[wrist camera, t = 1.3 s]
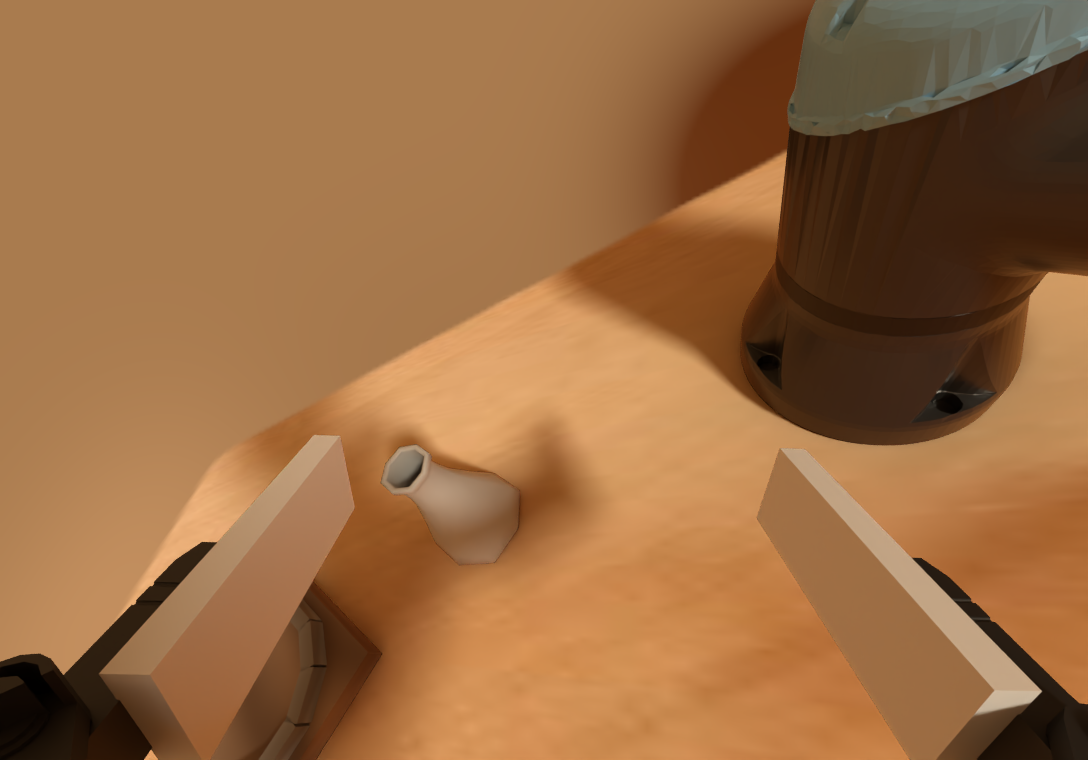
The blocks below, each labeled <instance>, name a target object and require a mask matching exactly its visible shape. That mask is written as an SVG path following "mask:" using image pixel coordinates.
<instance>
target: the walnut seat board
mask: <svg viewBox="0 0 1088 760" xmlns="http://www.w3.org/2000/svg"><path fill="white" fill-rule="evenodd" d="M381 654H382V653H381V652H380V651H379V650H378V649H377V648H376V647H375V646H374V645H373V644H372V643H371V642H370V641H369V640H368V639H367V638H366V637H365V635H364V634H363V633H362V632H361V631H360V630H359V629H358V628H357V627H356V626H355V625H354V624H353V623H352V622H351V621H350V620H349V619H348V618H347V617H346V616H345V615H344V614H343V612H342V611H341V610H340V609H339V608H338V607H337V606H336V605H335V604H334V603H333V602H332V601H331V600H330V599H329V598H328V597H327V596H326V595H325V594H324V593H323V592H322V591H321V590H320V588H319V587H318V586H317V585H316V584H315V583H314V582H312V583H311V585H310V587H309V588H308V590H307V592H306V594H305V595H304V597H303V599H302V601H301V602H300V604H299V606H298V608H297V609H296V611H295V613H294V615H293V616H292V618H291V620H290V622H289V623H288V625H287V627H286V628H285V630H284V632H283V634H282V635H281V637H280V639H279V641H278V642H277V644H276V646H275V648H274V649H273V651H272V653H271V655H270V656H269V658H268V660H267V662H266V663H265V665H264V667H263V668H262V670H261V672H260V674H259V675H258V677H257V679H256V681H255V682H254V684H253V686H252V688H251V689H250V691H249V693H248V695H247V696H246V698H245V700H244V702H243V703H242V705H241V707H240V708H239V710H238V712H237V714H236V715H235V717H234V719H233V721H232V722H231V724H230V726H229V728H228V729H227V731H226V733H225V735H224V736H223V738H222V740H221V742H220V743H219V745H218V747H217V748H216V750H215V752H214V754H213V755H212V757H211V759H210V760H316V759H317V757H318V755H319V754H320V752H321V751H322V749H323V747H324V746H325V744H326V743H327V741H328V739H329V738H330V736H331V735H332V733H333V731H334V730H335V728H336V727H337V725H338V723H339V722H340V720H341V719H342V717H343V715H344V714H345V712H346V711H347V709H348V707H349V706H350V704H351V703H352V701H353V699H354V698H355V696H356V695H357V693H358V691H359V690H360V688H361V687H362V685H363V683H364V682H365V680H366V679H367V677H368V675H369V674H370V672H371V671H372V669H373V667H374V666H375V664H376V662H377V661H378V659H379V658H380V656H381Z"/></svg>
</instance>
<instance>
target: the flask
mask: <svg viewBox="0 0 1088 760" xmlns="http://www.w3.org/2000/svg"><path fill="white" fill-rule="evenodd" d="M431 460H432V456H431V454H429V453H428V452H427V451H425V450H424V449H423V448H421V447H420V446H419V445H417V444H414V445H408V446H402V447H399V448H398V449H397V450H396V452H395V453H394V454H393V455H392V456H391V457H390V459H389V460H388V461H387V462H386V463H385V467H384V471H383V475H382V479H381V484H382V485H383V486H384V487H385V488H386V489H388V490H389V491H390V492H391V493H392V494H393V495H406V496H407V497H409V498H411V499H412V500H413V501H414V502H415V503H416V505H417V507H418V508H419V510H420V512H421V514H422V516H423V517H424V519H425V521H426V523H427V525H428V528H429V530H430V532H431V534H432V536H433V538H434V540H435V542H436V544H437V545H438V546H440V547H441V548H442V549H443V550H444V551H445V552H446V553H447V554H448V555H449V556H450V557H451V558H452V559H453V560H454V561H455V562H456V563H457V564H458V565H468V564H483V563H495V561H496V560H497V558H498V557H499V555H500V554H501V552H502V551H503V549H504V548H505V547H506V545H507V544H508V542H509V541H510V539H511V538H512V536H513V535H514V533H515V532H516V531H517V529H518V521H519V501H520V490H518V489H517V488H515V487H514V486H512V485H511V484H509V483H508V482H507V481H505V480H504V479H502V478H501V477H499V476H498V475H497V474H495V473H487V472H475V471H466V470H459V469H452V468H447V467H445V466H442V465H440V464H437V463H435V462H432V461H431Z"/></svg>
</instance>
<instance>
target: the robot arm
mask: <svg viewBox="0 0 1088 760" xmlns="http://www.w3.org/2000/svg"><path fill="white" fill-rule="evenodd" d="M788 122H789V125H790V131H789V140H788V148H787V158H786V167H785V176H784V186H783V195H782V204H781V214H780V223H779V232H778V242H777V253H776V261H775V263H774V265H773V266H772V268H771V270H770V271H769V273H768V275H767V276H766V278H765V280H764V281H763V283H762V285H761V286H760V288H759V290H758V292H757V293H756V295H755V297H754V298H753V300H752V302H751V303H750V305H749V307H748V309H747V311H746V314H745V317H744V320H743V324H742V330H741V349H740V350H741V361H742V365H743V369H744V371H745V374H746V376H747V378H748V380H749V382H750V384H751V385H752V387H753V388H754V390H755V391H756V392H757V393H758V395H759V396H760V397H761V398H762V399H763V400H764V401H765V402H766V403H767V404H768V405H769V406H770V407H771V408H773V409H774V410H775V411H777V412H778V413H779V414H781V415H782V416H784V417H785V418H787V419H788V420H790V421H792V422H794V423H796V424H797V425H799V426H801V427H804V428H806V429H808V430H810V431H813V432H816V433H818V434H821V435H824V436H827V437H830V438H834V439H838V440H842V441H847V442H853V443H860V444H869V445H904V444H913V443H919V442H924V441H929V440H933V439H937V438H940V437H943V436H946V435H949V434H951V433H953V432H956V431H958V430H960V429H962V428H964V427H966V426H967V425H969V424H970V423H972V422H974V421H975V420H976V419H977V418H979V417H980V416H981V415H982V414H983V413H984V412H986V411H987V410H988V409H989V407H990V406H991V405H992V404H993V403H994V402H995V401H996V400H997V399H998V398H999V397H1000V396H1001V395H1002V394H1003V392H1004V391H1005V390H1006V389H1007V388H1008V386H1009V385H1010V383H1011V382H1012V380H1013V378H1014V376H1015V374H1016V372H1017V370H1018V368H1019V365H1020V362H1021V357H1022V350H1023V343H1024V335H1025V328H1026V320H1027V313H1028V305H1029V298H1030V294H1031V293H1032V292H1033V290H1034V289H1035V288H1036V286H1037V285H1038V284H1039V283H1040V281H1041V280H1042V279H1043V277H1044V276H1045V275H1046V274H1047V273H1048V272H1054V273H1064V274H1073V275H1082V276H1088V0H816V1H815V3H814V6H813V8H812V11H811V13H810V15H809V18H808V22H807V26H806V30H805V35H804V41H803V47H802V52H801V58H800V64H799V70H798V75H797V81H796V87H795V90H794V92H793V94H792V97H791V99H790V101H789V105H788ZM354 508H355V506H354V501H353V496H352V491H351V486H350V481H349V476H348V471H347V466H346V462H345V457H344V452H343V447H342V442H341V437H340V436H334V435H314V436H313V437H312V438H311V439H310V440H309V441H308V442H307V443H306V444H305V446H304V447H303V448H302V449H301V450H300V451H299V452H298V453H297V454H296V456H295V457H294V458H293V459H292V460H291V461H290V462H289V463H288V464H287V466H286V467H285V468H284V469H283V470H282V471H281V472H280V473H279V474H278V476H277V477H276V478H275V479H274V480H273V481H272V482H271V483H270V484H269V486H268V487H267V488H266V489H265V490H264V491H263V492H262V493H261V494H260V495H259V497H258V498H257V499H256V500H255V501H254V502H253V503H252V504H251V505H250V507H249V508H248V509H247V510H246V511H245V512H244V513H243V514H242V515H241V517H240V518H239V519H238V520H237V521H236V522H235V523H234V524H233V525H232V527H231V528H230V529H229V530H228V531H227V532H226V533H225V534H224V535H223V537H222V538H221V539H220V540H219V541H218V542H201V543H200V544H198V545H197V546H195V547H194V548H192V549H191V550H190V551H188V552H187V553H185V554H184V555H182V556H181V557H179V558H178V559H176V560H175V561H174V562H173V563H172V564H171V565H170V566H169V567H168V568H167V569H166V570H165V571H164V572H163V573H162V574H161V575H160V576H159V577H158V578H157V579H156V580H155V581H154V585H153V586H150V587H149V588H148V589H147V590H146V591H145V592H144V593H143V594H142V595H141V596H140V597H139V598H138V599H137V600H136V604H135V605H131V606H130V607H129V608H128V609H127V610H126V611H125V612H124V613H123V614H122V615H121V617H120V618H119V619H118V620H117V621H116V622H115V623H114V624H113V625H112V626H111V627H110V628H109V629H108V630H107V631H106V632H105V633H104V634H103V635H102V636H101V637H100V638H99V639H98V640H97V641H96V642H95V643H94V644H93V645H92V646H91V647H90V648H89V650H88V651H87V652H86V653H85V654H84V655H83V656H82V657H81V658H80V659H79V660H78V661H77V662H76V663H75V664H74V665H73V666H72V667H71V668H70V669H69V670H68V671H67V672H66V673H65V674H64V675H63V674H62V673H61V672H60V670H59V669H58V668H57V666H56V665H55V664H54V662H53V661H52V660H51V659H50V658H48V657H46V656H44V655H41V654H29V655H19V656H16V657H13V658H10V659H7V660H4V661H1V662H0V760H144V759H145V757H146V756H147V754H148V753H149V751H150V750H152V751H153V752H154V754H155V755H156V757H157V758H158V760H210V759H211V757H212V755H213V754H214V752H215V750H216V748H217V747H218V745H219V743H220V742H221V740H222V738H223V736H224V735H225V733H226V731H227V729H228V728H229V726H230V724H231V722H232V721H233V719H234V717H235V715H236V714H237V712H238V710H239V708H240V707H241V705H242V703H243V702H244V700H245V698H246V696H247V695H248V693H249V691H250V689H251V688H252V686H253V684H254V682H255V681H256V679H257V677H258V675H259V674H260V672H261V670H262V668H263V667H264V665H265V663H266V662H267V660H268V658H269V656H270V655H271V653H272V651H273V649H274V648H275V646H276V644H277V642H278V641H279V639H280V637H281V635H282V634H283V632H284V630H285V628H286V627H287V625H288V623H289V622H290V620H291V618H292V616H293V615H294V613H295V611H296V609H297V608H298V606H299V604H300V602H301V601H302V599H303V597H304V595H305V594H306V592H307V590H308V588H309V587H310V585H311V583H312V582H313V580H314V578H315V576H316V575H317V573H318V571H319V569H320V568H321V566H322V564H323V562H324V561H325V559H326V557H327V555H328V554H329V552H330V550H331V548H332V547H333V545H334V543H335V542H336V540H337V538H338V536H339V535H340V533H341V531H342V529H343V528H344V526H345V524H346V522H347V521H348V519H349V517H350V515H351V514H352V512H353V510H354ZM757 520H758V521H759V523H760V524H761V526H762V527H763V529H764V531H765V532H766V534H767V535H768V537H769V538H770V540H771V542H772V543H773V545H774V546H775V548H776V549H777V551H778V553H779V554H780V556H781V557H782V559H783V560H784V562H785V564H786V565H787V567H788V568H789V570H790V572H791V573H792V575H793V576H794V578H795V579H796V581H797V583H798V584H799V586H800V587H801V589H802V590H803V592H804V594H805V595H806V597H807V598H808V600H809V601H810V603H811V605H812V606H813V608H814V609H815V611H816V612H817V614H818V616H819V617H820V619H821V620H822V622H823V624H824V625H825V627H826V628H827V630H828V631H829V633H830V635H831V636H832V638H833V639H834V641H835V642H836V644H837V646H838V647H839V649H840V650H841V652H842V653H843V655H844V657H845V658H846V660H847V661H848V663H849V664H850V666H851V668H852V669H853V671H854V672H855V674H856V676H857V677H858V679H859V680H860V682H861V683H862V685H863V687H864V688H865V690H866V691H867V693H868V694H869V696H870V698H871V699H872V701H873V702H874V704H875V705H876V707H877V709H878V710H879V712H880V713H881V715H882V717H883V718H884V720H885V721H886V723H887V724H888V726H889V728H890V729H891V731H892V732H893V734H894V735H895V737H896V739H897V740H898V742H899V743H900V745H901V746H902V748H903V750H904V751H905V753H906V754H907V756H908V757H909V759H910V760H1088V704H1080V703H1078V702H1077V701H1076V700H1075V699H1074V698H1073V697H1072V696H1070V695H1069V694H1068V693H1067V692H1066V691H1065V690H1064V689H1063V688H1062V687H1061V686H1060V685H1059V684H1058V683H1057V682H1056V681H1055V680H1054V679H1053V678H1052V677H1051V676H1050V675H1049V674H1048V673H1047V672H1046V671H1045V670H1044V669H1043V668H1042V667H1041V666H1040V665H1039V664H1038V663H1037V662H1035V661H1034V660H1033V659H1032V658H1031V657H1030V656H1029V655H1028V654H1027V653H1026V652H1025V651H1024V650H1023V649H1022V648H1021V647H1020V646H1019V645H1018V644H1017V643H1016V642H1015V641H1014V640H1013V639H1012V638H1011V637H1010V636H1009V635H1008V634H1007V633H1006V632H1005V631H1004V630H1003V629H1002V628H1001V627H1000V626H999V625H998V624H997V623H995V622H992V621H991V620H990V617H989V616H988V615H987V614H986V613H985V612H984V611H983V610H982V609H981V608H980V607H979V606H978V605H977V604H976V603H972V602H971V598H970V597H969V596H968V595H967V594H966V593H965V592H964V591H963V590H962V589H961V588H960V587H959V586H958V585H957V584H955V583H954V582H953V581H952V580H951V579H950V578H949V577H948V576H947V575H945V574H944V573H942V572H941V571H939V570H938V569H936V568H935V567H933V566H932V565H931V564H929V563H928V562H926V561H925V560H923V559H922V558H911V557H910V556H909V555H908V554H907V553H906V552H905V551H904V550H903V549H902V548H901V547H900V546H899V545H898V544H897V543H896V542H895V541H894V540H893V539H892V537H891V536H890V535H889V534H888V533H887V532H886V531H885V530H884V529H883V528H882V527H881V526H880V525H879V524H878V523H877V522H876V521H875V520H874V519H873V518H872V517H871V516H870V515H869V514H868V513H867V512H866V511H865V510H864V509H863V508H862V507H861V506H860V505H859V504H858V503H857V502H856V501H855V500H854V499H853V498H852V497H851V496H850V495H849V494H848V493H847V491H846V490H845V489H844V488H843V487H842V486H841V485H840V484H839V483H838V482H837V481H836V480H835V479H834V478H833V477H832V476H831V475H830V474H829V473H828V472H827V471H826V470H825V469H824V468H823V467H822V466H821V465H820V464H819V463H818V462H817V461H816V460H815V459H814V458H813V457H812V456H811V455H810V454H809V453H808V452H807V451H806V450H805V449H788V448H780V449H779V452H778V455H777V458H776V461H775V464H774V467H773V470H772V473H771V476H770V479H769V482H768V485H767V488H766V491H765V494H764V497H763V500H762V503H761V506H760V509H759V512H758V515H757Z"/></svg>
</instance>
